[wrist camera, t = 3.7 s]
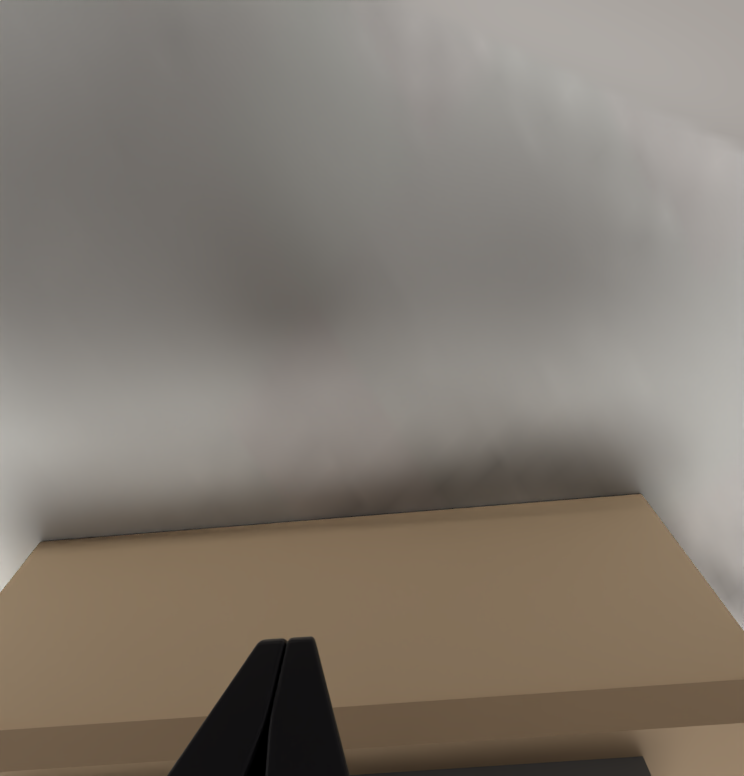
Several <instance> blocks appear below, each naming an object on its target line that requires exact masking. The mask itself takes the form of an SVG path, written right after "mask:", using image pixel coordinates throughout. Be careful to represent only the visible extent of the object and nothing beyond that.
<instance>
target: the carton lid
mask: <svg viewBox="0 0 744 776" xmlns="http://www.w3.org/2000/svg"><path fill="white" fill-rule="evenodd" d="M333 711H334V715H335V719H336V723H337V727H338V731H339V735H340V738H341V742H342V746H343V750H344V754H345V758H346V762H347V766H348V770H349V774H350V776H744V679H743V680H728V681H714V682H699V683H685V684H670V685H655V686H641V687H626V688H612V689H597V690H582V691H568V692H553V693H539V694H524V695H509V696H495V697H480V698H466V699H451V700H436V701H422V702H407V703H392V704H378V705H363V706H349V707H334V708H333ZM206 718H207V716H203V717H188V718H173V719H159V720H144V721H129V722H115V723H100V724H86V725H71V726H56V727H42V728H27V729H13V730H0V776H167V775H168V773H169V772H170V770H171V769H172V767H173V766H174V764H175V763H176V761H177V760H178V759H179V757H180V756H181V754H182V753H183V751H184V750H185V748H186V747H187V745H188V744H189V742H190V741H191V740H192V738H193V737H194V735H195V734H196V732H197V731H198V729H199V728H200V726H201V725H202V723H203V722H204V721H205V719H206Z"/></svg>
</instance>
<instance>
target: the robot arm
mask: <svg viewBox="0 0 744 776" xmlns="http://www.w3.org/2000/svg"><path fill="white" fill-rule="evenodd" d="M167 776H350V774H349V770H348V766H347V762H346V758H345V754H344V750H343V746H342V742H341V738H340V735H339V731H338V727H337V723H336V719H335V715H334V711H333V707H332V703H331V699H330V695H329V691H328V688H327V684H326V680H325V676H324V672H323V668H322V664H321V660H320V656H319V652H318V648H317V645H316V641H315V639H314V637H312V636H308V637H293V638H290V639H289V640H288V641H287V640H286V639H284V638H277V639H264V640H261V641H260V642H258V643H257V645H256V646H255V647H254V649H253V650H252V652H251V653H250V655H249V656H248V658H247V659H246V661H245V662H244V664H243V665H242V666H241V668H240V669H239V671H238V672H237V674H236V675H235V677H234V678H233V680H232V681H231V683H230V684H229V685H228V687H227V688H226V690H225V691H224V693H223V694H222V696H221V697H220V699H219V700H218V702H217V703H216V704H215V706H214V707H213V709H212V710H211V712H210V713H209V715H208V716H207V718H206V719H205V721H204V722H203V723H202V725H201V726H200V728H199V729H198V731H197V732H196V734H195V735H194V737H193V738H192V740H191V741H190V742H189V744H188V745H187V747H186V748H185V750H184V751H183V753H182V754H181V756H180V757H179V759H178V760H177V761H176V763H175V764H174V766H173V767H172V769H171V770H170V772H169V773H168V775H167Z"/></svg>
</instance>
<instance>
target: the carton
mask: <svg viewBox="0 0 744 776" xmlns="http://www.w3.org/2000/svg"><path fill="white" fill-rule="evenodd" d="M308 636H312V637H314V639H315V641H316V645H317V648H318V652H319V656H320V660H321V664H322V668H323V672H324V676H325V680H326V684H327V688H328V691H329V695H330V699H331V703H332V707H333V708H334V707H349V706H363V705H378V704H392V703H407V702H422V701H436V700H451V699H466V698H480V697H495V696H509V695H524V694H539V693H553V692H568V691H582V690H597V689H612V688H626V687H641V686H655V685H670V684H685V683H699V682H714V681H728V680H743V679H744V631H743V630H742V628H741V627H740V626H739V624H738V623H737V622H736V620H735V619H734V618H733V616H732V615H731V613H730V612H729V611H728V609H727V608H726V607H725V605H724V604H723V603H722V601H721V600H720V599H719V597H718V596H717V595H716V593H715V592H714V591H713V589H712V588H711V587H710V585H709V584H708V583H707V581H706V580H705V579H704V577H703V576H702V575H701V573H700V572H699V571H698V569H697V568H696V567H695V565H694V564H693V563H692V561H691V560H690V559H689V557H688V556H687V555H686V553H685V552H684V550H683V549H682V548H681V546H680V545H679V544H678V542H677V541H676V540H675V538H674V537H673V536H672V534H671V533H670V532H669V530H668V529H667V528H666V526H665V525H664V524H663V522H662V521H661V520H660V518H659V517H658V516H657V514H656V513H655V512H654V510H653V509H652V508H651V506H650V505H649V504H648V502H647V501H646V500H645V498H644V497H643V496H642V494H634V495H622V496H609V497H597V498H584V499H572V500H559V501H546V502H534V503H521V504H509V505H496V506H484V507H471V508H458V509H446V510H433V511H421V512H408V513H396V514H383V515H371V516H358V517H345V518H333V519H320V520H308V521H295V522H283V523H270V524H257V525H245V526H232V527H220V528H207V529H195V530H182V531H169V532H157V533H144V534H132V535H119V536H107V537H94V538H82V539H69V540H56V541H44V542H40V543H39V544H38V545H37V547H36V548H35V549H34V550H33V552H32V553H31V554H30V556H29V557H28V558H27V559H26V561H25V562H24V563H23V564H22V566H21V567H20V568H19V570H18V571H17V572H16V573H15V575H14V576H13V577H12V579H11V580H10V581H9V582H8V584H7V585H6V586H5V587H4V589H3V590H2V591H1V593H0V730H13V729H27V728H42V727H56V726H71V725H86V724H100V723H115V722H129V721H144V720H159V719H173V718H188V717H203V716H208V715H209V713H210V712H211V710H212V709H213V707H214V706H215V704H216V703H217V702H218V700H219V699H220V697H221V696H222V694H223V693H224V691H225V690H226V688H227V687H228V685H229V684H230V683H231V681H232V680H233V678H234V677H235V675H236V674H237V672H238V671H239V669H240V668H241V666H242V665H243V664H244V662H245V661H246V659H247V658H248V656H249V655H250V653H251V652H252V650H253V649H254V647H255V646H256V645H257V643H258V642H260V641H261V640H264V639H277V638H284V639H286V640H287V641H288V640H289V639H290V638H293V637H308Z"/></svg>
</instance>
